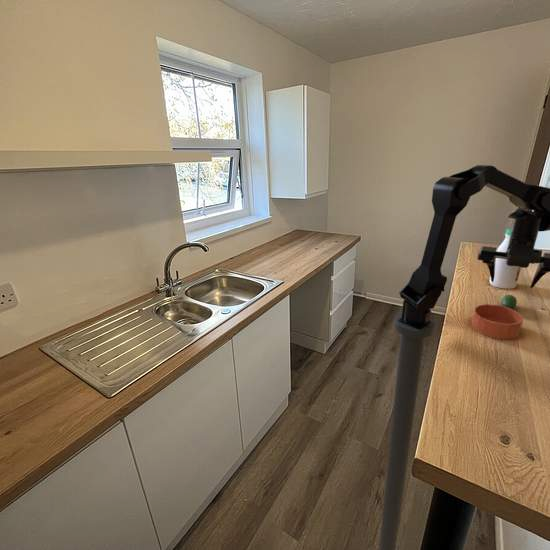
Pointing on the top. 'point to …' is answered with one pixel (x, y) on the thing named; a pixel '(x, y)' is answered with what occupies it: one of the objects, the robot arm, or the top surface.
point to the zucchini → (509, 302)
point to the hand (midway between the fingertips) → (511, 284)
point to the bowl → (497, 321)
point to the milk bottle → (505, 268)
